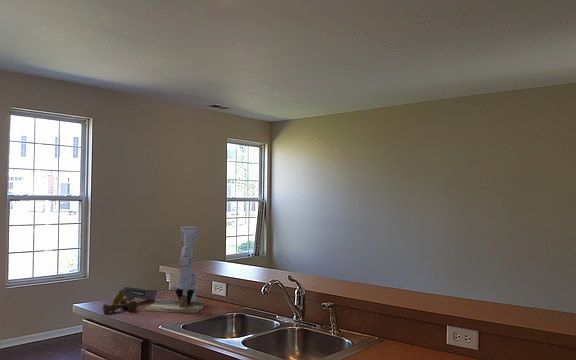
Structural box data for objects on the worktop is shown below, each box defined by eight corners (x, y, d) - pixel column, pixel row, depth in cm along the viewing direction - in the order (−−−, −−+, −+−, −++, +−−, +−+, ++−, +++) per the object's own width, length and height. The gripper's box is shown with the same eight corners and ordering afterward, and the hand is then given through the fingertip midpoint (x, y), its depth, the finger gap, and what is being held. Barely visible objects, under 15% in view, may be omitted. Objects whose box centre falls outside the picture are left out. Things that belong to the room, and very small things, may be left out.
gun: (149, 315, 288) (158, 290, 292) (113, 305, 272) (123, 279, 276) (147, 314, 290) (156, 289, 295) (110, 304, 274) (120, 278, 278)
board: (155, 305, 276) (156, 299, 276) (203, 308, 271) (203, 301, 271) (145, 310, 263) (145, 304, 263) (194, 313, 258) (194, 306, 258)
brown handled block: (183, 304, 271) (183, 294, 271) (189, 305, 270) (190, 295, 271) (175, 308, 261) (175, 298, 261) (182, 309, 261) (182, 298, 261)
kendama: (100, 313, 259) (135, 306, 273) (108, 316, 252) (143, 309, 266) (100, 301, 259) (135, 295, 273) (108, 305, 252) (144, 298, 266)
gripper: (169, 279, 266) (169, 304, 266) (195, 280, 263) (194, 305, 263) (175, 277, 273) (174, 301, 273) (199, 278, 270) (199, 303, 270)
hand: (184, 303), depth 268 cm, fingers closed on brown handled block, 4 cm apart
